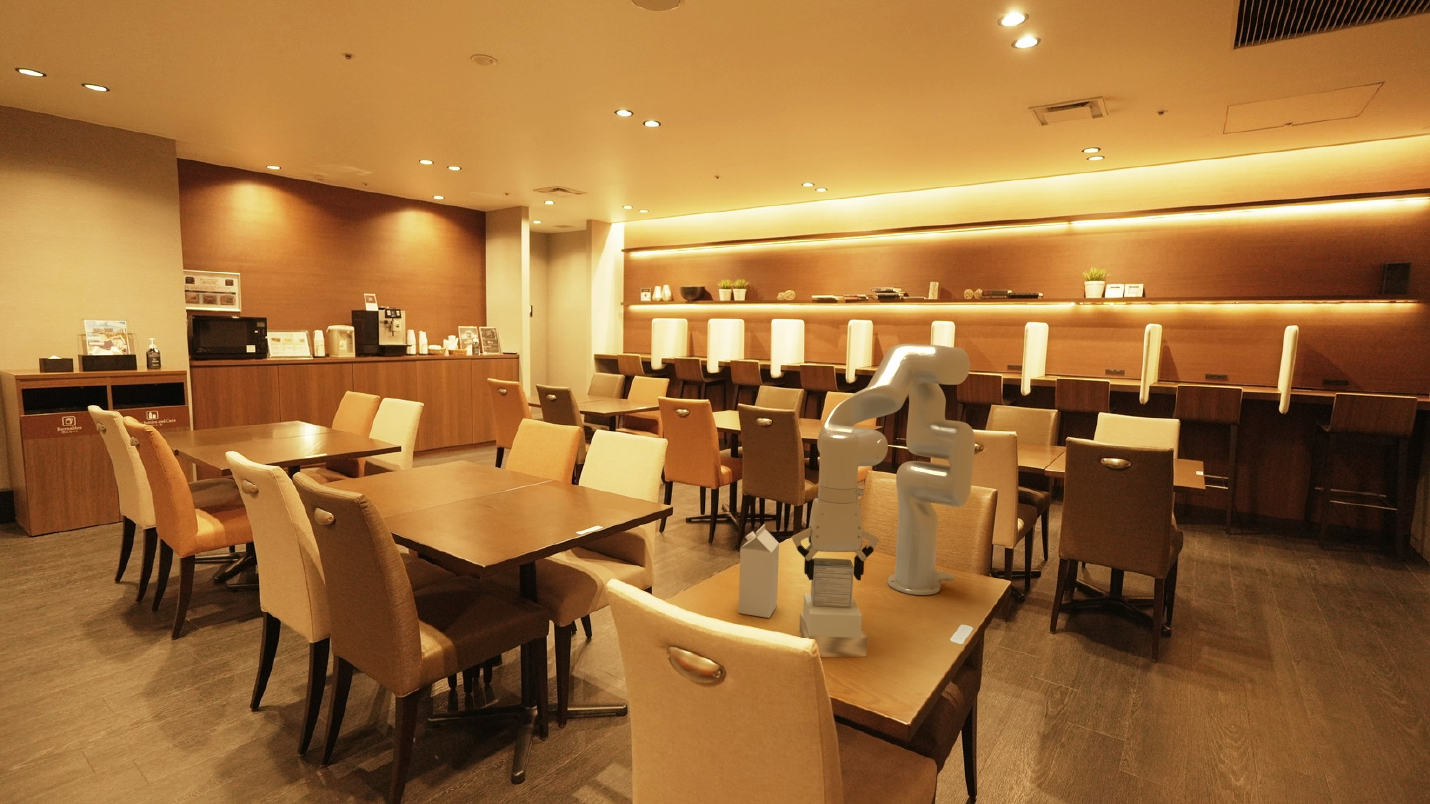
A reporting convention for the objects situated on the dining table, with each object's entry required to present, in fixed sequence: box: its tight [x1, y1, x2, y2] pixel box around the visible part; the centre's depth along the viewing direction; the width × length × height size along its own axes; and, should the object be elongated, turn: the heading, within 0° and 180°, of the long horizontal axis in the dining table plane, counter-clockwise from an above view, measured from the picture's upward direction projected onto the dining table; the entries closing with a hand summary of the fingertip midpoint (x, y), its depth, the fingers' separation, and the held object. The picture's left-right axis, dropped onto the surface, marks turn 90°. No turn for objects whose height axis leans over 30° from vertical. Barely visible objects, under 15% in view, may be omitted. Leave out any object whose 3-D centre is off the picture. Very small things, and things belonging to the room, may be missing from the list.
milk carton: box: [737, 523, 780, 619], centre depth 150 cm, size 7×7×19 cm
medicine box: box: [810, 557, 854, 608], centre depth 134 cm, size 8×4×9 cm, turn 86°
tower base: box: [798, 612, 868, 658], centre depth 135 cm, size 11×11×4 cm
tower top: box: [802, 593, 863, 638], centre depth 134 cm, size 10×10×4 cm
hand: (833, 577), depth 134 cm, fingers open, 9 cm apart
